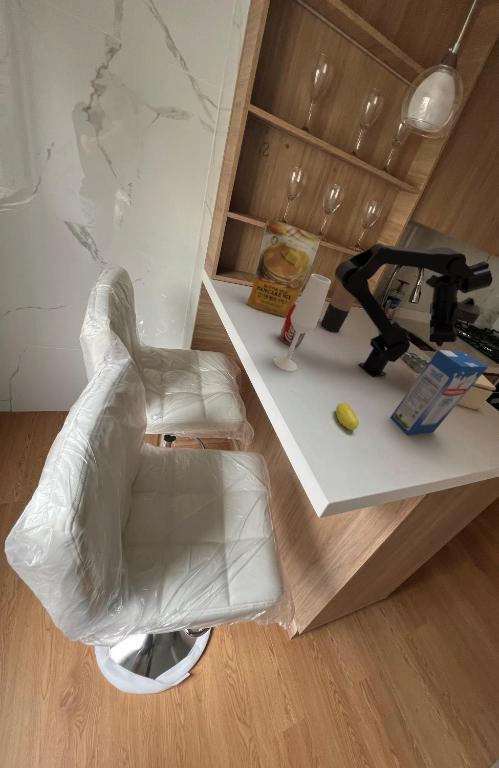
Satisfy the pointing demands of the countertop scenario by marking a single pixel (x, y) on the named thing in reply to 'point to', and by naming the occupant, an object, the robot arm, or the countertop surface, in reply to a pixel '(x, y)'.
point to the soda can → (290, 329)
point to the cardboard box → (475, 397)
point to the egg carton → (415, 361)
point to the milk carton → (437, 391)
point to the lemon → (347, 416)
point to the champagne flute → (305, 315)
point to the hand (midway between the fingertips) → (439, 345)
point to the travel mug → (337, 309)
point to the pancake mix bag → (282, 267)
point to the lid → (484, 383)
